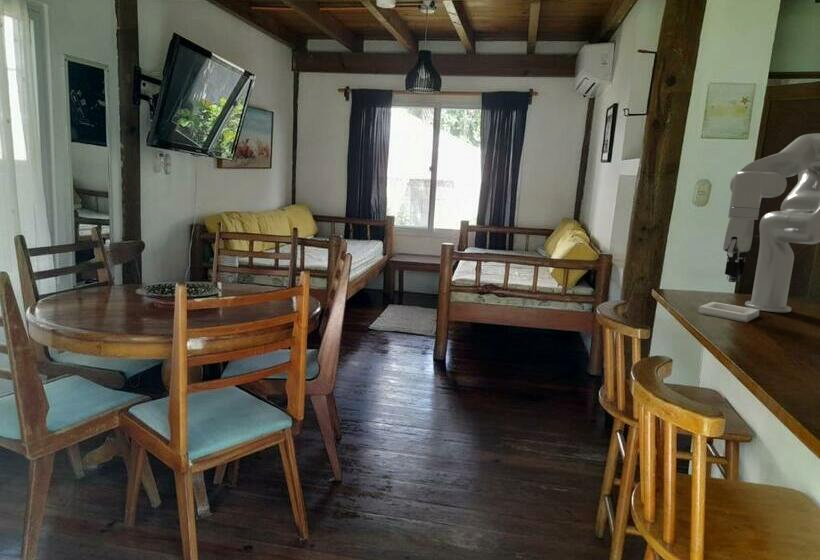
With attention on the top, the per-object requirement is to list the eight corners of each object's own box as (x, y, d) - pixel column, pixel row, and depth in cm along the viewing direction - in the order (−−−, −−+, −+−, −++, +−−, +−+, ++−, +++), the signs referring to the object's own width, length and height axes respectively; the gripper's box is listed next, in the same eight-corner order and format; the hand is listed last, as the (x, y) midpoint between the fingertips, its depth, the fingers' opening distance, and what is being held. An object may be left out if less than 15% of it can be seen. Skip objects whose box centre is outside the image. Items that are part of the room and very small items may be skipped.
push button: (741, 284, 154) (746, 250, 152) (720, 281, 157) (725, 248, 156) (743, 281, 159) (748, 248, 158) (723, 279, 163) (728, 246, 161)
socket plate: (712, 308, 170) (712, 301, 169) (758, 316, 160) (759, 309, 160) (698, 313, 161) (699, 306, 161) (746, 322, 152) (747, 315, 152)
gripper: (738, 212, 164) (729, 270, 167) (719, 213, 152) (710, 274, 155) (766, 214, 158) (756, 274, 161) (749, 215, 147) (739, 278, 150)
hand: (734, 273), depth 158 cm, fingers closed on push button, 5 cm apart
